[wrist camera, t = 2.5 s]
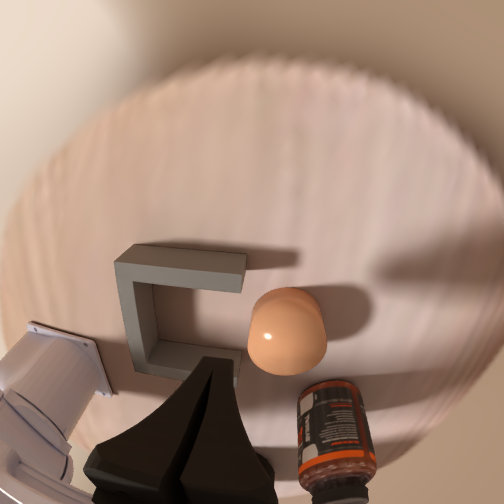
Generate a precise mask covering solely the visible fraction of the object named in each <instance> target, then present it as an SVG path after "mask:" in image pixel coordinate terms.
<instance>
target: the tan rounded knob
mask: <svg viewBox="0 0 504 504" xmlns="http://www.w3.org/2000/svg"><path fill="white" fill-rule="evenodd" d="M326 350H327V338H326V334H325V329H324V324H323V320H322V315H321V311H320V307H319V305H318V303H317V301H316V300H315V299H314V298H313V297H312V296H311V295H310V294H309V293H307V292H305V291H303V290H300V289H297V288H289V287H285V288H278V289H274V290H272V291H269V292H267V293H266V294H264V295H263V296H262V297H261V298H260V299H259V300H258V301H257V302H256V304H255V306H254V308H253V311H252V317H251V324H250V332H249V339H248V353H249V355H250V358H251V359H252V361H253V362H254V363H255V364H256V365H257V366H258V367H259V368H261V369H263V370H264V371H266V372H269V373H272V374H276V375H287V376H288V375H296V374H300V373H303V372H306V371H308V370H310V369H312V368H313V367H315V366H316V365H317V364H318V363H319V362H320V361H321V360H322V358H323V357H324V355H325V353H326Z"/></svg>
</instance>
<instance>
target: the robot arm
mask: <svg viewBox="0 0 504 504" xmlns="http://www.w3.org/2000/svg"><path fill="white" fill-rule="evenodd" d="M27 329H28V332H27V333H26V334H25V335H24V336H23V337H22V338H21V339H20V340H19V341H18V342H17V343H16V344H15V345H14V346H13V347H12V348H11V350H10V351H9V352H8V353H7V354H6V355H5V356H4V357H3V358H2V359H1V360H0V504H278V498H277V495H276V492H275V489H274V487H273V484H272V481H271V478H270V477H269V475H268V474H267V472H266V471H265V469H264V468H263V466H262V464H261V462H260V461H259V459H258V457H257V455H256V453H255V451H254V449H253V447H252V445H251V443H250V441H249V438H248V436H247V433H246V431H245V428H244V425H243V423H242V420H241V416H240V413H239V409H238V406H237V401H236V397H235V391H234V361H233V360H232V359H226V358H217V357H209V356H203V357H202V358H201V359H200V361H199V362H198V364H197V365H196V367H195V368H194V369H193V371H192V372H191V373H190V375H189V376H188V377H187V378H186V380H185V381H184V382H183V383H182V384H181V385H180V387H179V388H178V389H177V390H176V391H175V392H174V393H173V394H172V395H171V396H170V397H169V398H168V399H167V400H166V401H165V402H164V403H163V404H162V405H161V406H160V407H159V408H157V409H156V410H155V411H154V412H153V413H151V414H150V415H149V416H147V417H146V418H145V419H143V420H142V421H141V422H139V423H138V424H136V425H135V426H133V427H131V428H130V429H128V430H126V431H125V432H123V433H121V434H119V435H117V436H115V437H113V438H111V439H109V440H107V441H105V442H102V443H100V444H98V445H96V446H95V448H94V449H93V451H92V452H91V454H90V455H89V457H88V459H87V462H86V464H85V466H84V468H83V471H84V473H85V475H86V476H87V477H88V478H89V480H90V481H92V483H93V484H94V485H95V486H96V490H95V492H94V494H93V495H92V494H89V493H87V492H85V491H83V490H80V489H78V488H76V487H74V486H72V485H70V483H71V480H72V477H73V460H72V458H71V456H70V455H69V454H68V453H69V451H70V449H71V448H72V446H71V445H70V444H68V443H67V441H68V439H69V437H70V435H71V433H72V432H73V430H74V428H75V426H76V425H77V423H78V421H79V419H80V418H81V416H82V414H83V412H84V411H85V409H86V407H87V405H88V404H89V402H90V400H91V399H92V397H93V395H94V394H98V395H101V396H105V397H108V398H111V397H112V396H113V394H112V391H111V388H110V385H109V383H108V380H107V377H106V374H105V371H104V368H103V365H102V362H101V359H100V356H99V353H98V350H97V346H96V344H95V342H94V341H92V340H90V339H86V338H82V337H78V336H75V335H71V334H67V333H64V332H60V331H57V330H54V329H50V328H47V327H44V326H41V325H38V324H34V323H31V322H28V323H27Z"/></svg>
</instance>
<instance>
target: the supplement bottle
mask: <svg viewBox="0 0 504 504" xmlns="http://www.w3.org/2000/svg"><path fill="white" fill-rule="evenodd" d="M297 430H298V469H299V483H300V485H301V487H302V488H303V489H305V490H306V491H308V492H310V494H311V495H312V496H313V497H312V504H367V503H368V502H369V498H368V488H367V487H366V486H365V485H366V484H367V483H368V482H369V481H370V480H371V479H372V478H373V477H374V475H375V473H376V469H377V467H376V459H375V453H374V448H373V444H372V439H371V435H370V430H369V426H368V422H367V417H366V413H365V409H364V404H363V400H362V397H361V394H360V391H359V390H358V388H357V387H356V386H354V385H353V384H351V383H349V382H345V381H338V380H337V381H326V382H322V383H319V384H316V385H314V386H312V387H310V388H309V389H307V390H306V391H304V392H303V393H302V395H301V396H300V397H299V400H298V402H297Z"/></svg>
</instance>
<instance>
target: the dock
mask: <svg viewBox="0 0 504 504" xmlns="http://www.w3.org/2000/svg"><path fill="white" fill-rule="evenodd" d="M246 259H247V254H239V253H228V252H216V251H204V250H192V249H181V248H169V247H158V246H146V245H135V244H133V245H132V246H131V247H130V248H129V249H128V250H126V251H125V252H124V253H123V254H122V255H121V256H120V257H118V258H117V259H116V260H115V261H114V267H115V274H116V281H117V287H118V293H119V299H120V305H121V310H122V316H123V321H124V326H125V330H126V335H127V340H128V344H129V348H130V353H131V357H132V361H133V365H134V369H135V371H136V372H141V373H145V374H150V375H155V376H160V377H165V378H170V379H176V380H182V381H185V380H186V378H187V377H188V376H189V375H190V373H191V372H192V371H193V369H194V368H195V367H196V365H197V364H198V362H199V361H200V359H201V358H202V357H203V356H209V357H217V358H226V359H232V360H233V361H234V388H237V383H238V377H239V370H240V364H241V351H240V350H230V349H221V348H213V347H205V346H198V345H191V344H184V343H177V342H171V341H165V340H159V336H158V330H157V322H156V315H155V307H154V298H153V289H152V284H159V285H168V286H176V287H185V288H194V289H203V290H212V291H222V292H232V293H241V291H242V286H243V281H244V277H245V272H246Z"/></svg>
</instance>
